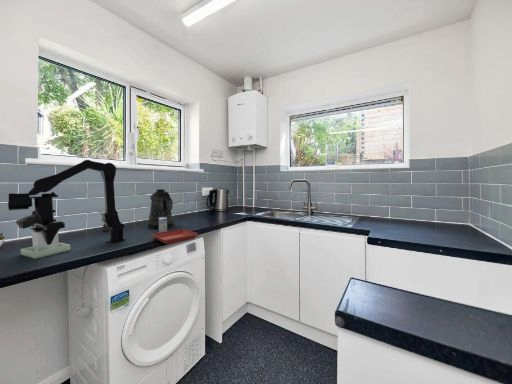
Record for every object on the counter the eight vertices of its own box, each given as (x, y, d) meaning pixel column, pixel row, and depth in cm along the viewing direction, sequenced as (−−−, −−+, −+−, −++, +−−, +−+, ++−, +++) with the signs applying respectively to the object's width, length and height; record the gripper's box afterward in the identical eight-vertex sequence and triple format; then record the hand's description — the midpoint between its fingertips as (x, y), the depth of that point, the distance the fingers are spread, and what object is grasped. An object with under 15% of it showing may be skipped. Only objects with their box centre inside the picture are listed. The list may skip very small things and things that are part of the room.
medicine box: (158, 231, 137) (158, 217, 136) (166, 230, 138) (166, 216, 138) (158, 234, 129) (158, 219, 129) (167, 233, 131) (166, 219, 131)
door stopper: (110, 231, 137) (109, 211, 137) (102, 230, 139) (101, 211, 138) (122, 228, 146) (121, 209, 145) (114, 227, 148) (114, 209, 147)
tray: (70, 250, 100) (70, 244, 100) (35, 259, 89) (34, 252, 89) (55, 247, 105) (55, 241, 105) (20, 254, 94) (20, 249, 94)
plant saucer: (150, 239, 120) (150, 233, 120) (182, 233, 132) (182, 228, 132) (164, 246, 107) (164, 239, 107) (198, 239, 119) (198, 233, 119)
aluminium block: (58, 247, 99) (57, 229, 99) (38, 251, 93) (37, 232, 93) (53, 245, 101) (52, 228, 101) (33, 250, 95) (31, 231, 95)
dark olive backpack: (156, 223, 161) (155, 188, 160) (182, 224, 158) (181, 189, 157) (141, 228, 145) (140, 189, 143) (170, 229, 142) (169, 190, 141)
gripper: (7, 209, 93) (10, 246, 94) (29, 211, 85) (32, 252, 86) (42, 206, 103) (44, 239, 104) (64, 208, 95) (66, 244, 96)
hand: (46, 243), depth 97 cm, fingers closed on aluminium block, 4 cm apart
